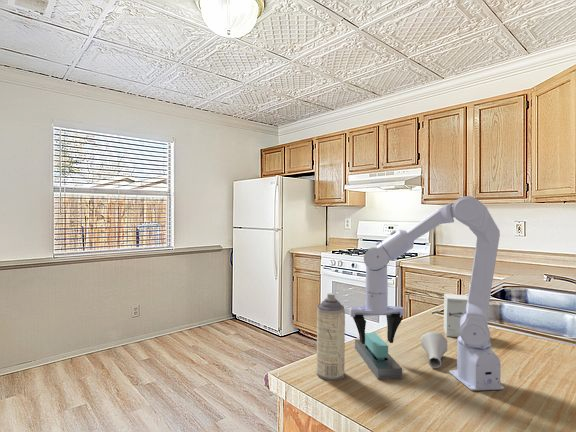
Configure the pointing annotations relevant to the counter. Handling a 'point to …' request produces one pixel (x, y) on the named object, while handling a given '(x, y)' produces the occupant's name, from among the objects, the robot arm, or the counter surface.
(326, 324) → the aerosol can
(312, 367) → the counter surface
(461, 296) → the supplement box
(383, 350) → the clip
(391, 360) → the rail
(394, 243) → the robot arm
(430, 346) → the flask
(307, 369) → the counter surface
